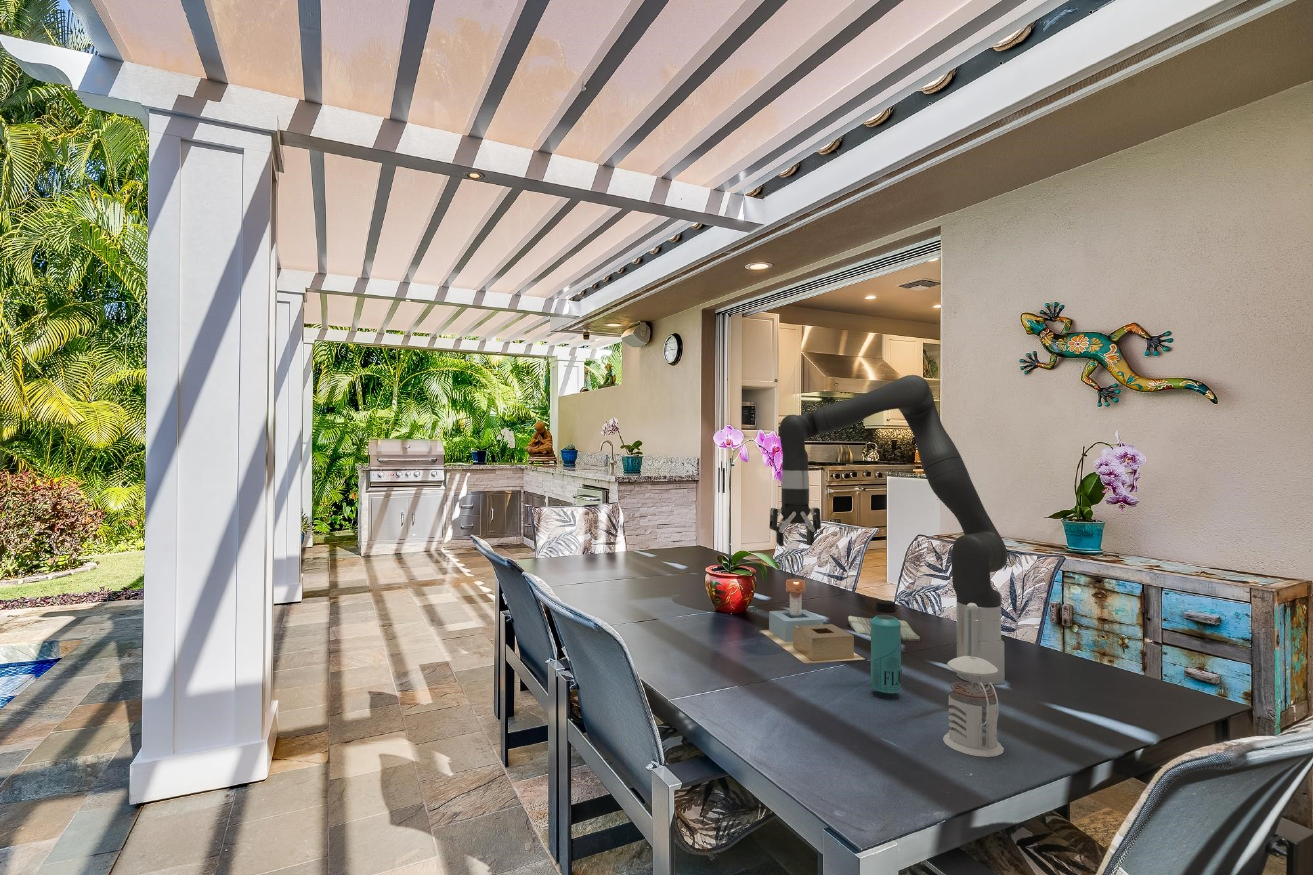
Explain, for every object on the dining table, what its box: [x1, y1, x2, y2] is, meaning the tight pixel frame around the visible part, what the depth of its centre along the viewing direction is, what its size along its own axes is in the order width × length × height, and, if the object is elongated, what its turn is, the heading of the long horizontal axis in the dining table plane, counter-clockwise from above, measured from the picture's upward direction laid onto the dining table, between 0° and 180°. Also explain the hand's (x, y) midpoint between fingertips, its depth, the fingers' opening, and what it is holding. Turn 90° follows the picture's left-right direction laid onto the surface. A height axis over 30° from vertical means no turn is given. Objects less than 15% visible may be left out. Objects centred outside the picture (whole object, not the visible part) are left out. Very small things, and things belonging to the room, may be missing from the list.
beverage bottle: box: [869, 599, 903, 694], centre depth 138 cm, size 6×7×20 cm
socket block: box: [768, 609, 824, 642], centre depth 178 cm, size 11×11×6 cm
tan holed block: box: [793, 623, 855, 661], centre depth 162 cm, size 11×11×6 cm
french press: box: [942, 603, 1005, 758], centre depth 115 cm, size 10×12×25 cm
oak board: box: [759, 629, 865, 664], centre depth 170 cm, size 29×16×2 cm, turn 12°
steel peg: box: [785, 578, 806, 618], centre depth 178 cm, size 5×5×15 cm
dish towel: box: [847, 615, 921, 642], centre depth 188 cm, size 19×18×3 cm
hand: (795, 545), depth 178 cm, fingers open, 8 cm apart
